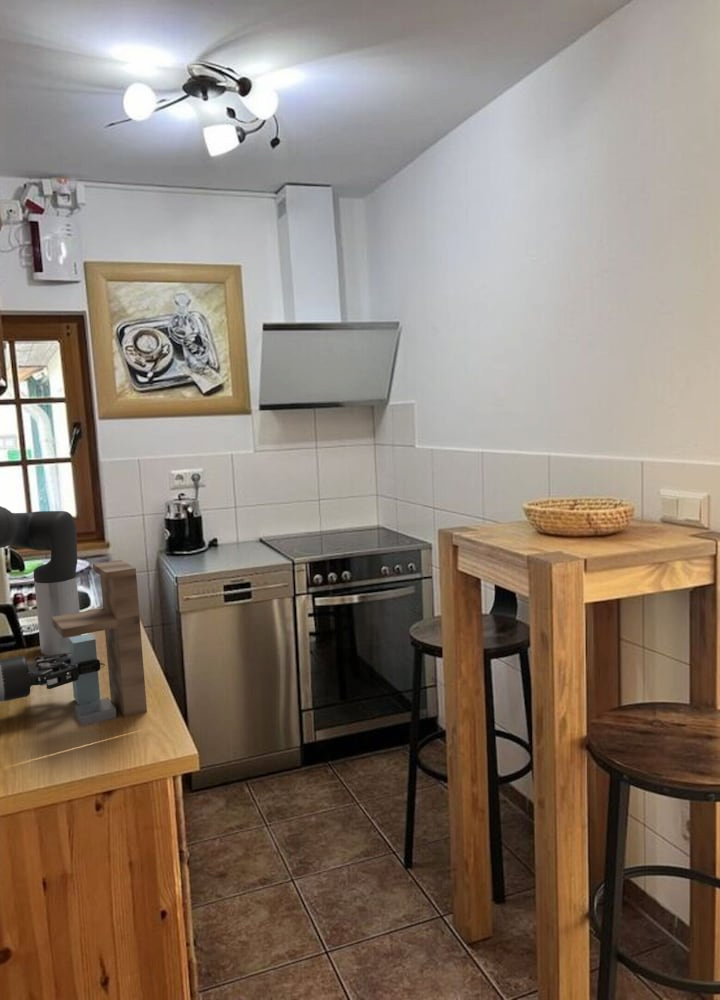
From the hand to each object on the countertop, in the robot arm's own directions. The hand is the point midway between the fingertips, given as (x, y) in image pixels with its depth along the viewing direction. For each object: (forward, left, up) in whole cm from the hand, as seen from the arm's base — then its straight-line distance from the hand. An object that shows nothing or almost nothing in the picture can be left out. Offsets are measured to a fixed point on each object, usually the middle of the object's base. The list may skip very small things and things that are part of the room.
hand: (96, 661), depth 142 cm
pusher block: (0, -2, -7) cm, 7 cm away
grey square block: (+9, -3, -8) cm, 12 cm away
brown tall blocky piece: (+8, -1, -8) cm, 11 cm away
